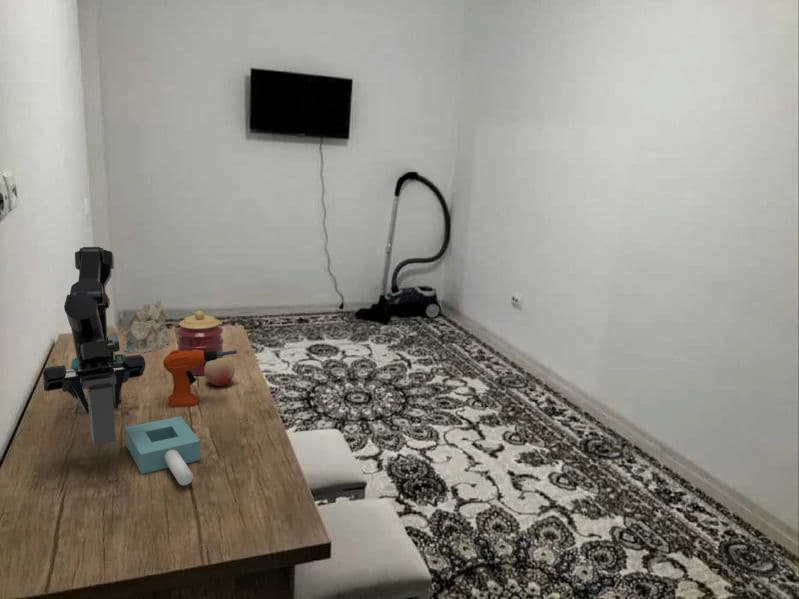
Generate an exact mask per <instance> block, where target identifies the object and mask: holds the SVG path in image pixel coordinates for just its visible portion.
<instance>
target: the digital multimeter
mask: <svg viewBox="0 0 799 599" xmlns="http://www.w3.org/2000/svg"><path fill="white" fill-rule="evenodd" d="M126 356H127V355H126V354H124V353H119V354H118V353H117V354H115V360H118V363H122V360H123V357H126ZM71 360H72V361H71V369H76V370H77V369H79V368H78V362H77V357H74V358H72V359H71Z"/></svg>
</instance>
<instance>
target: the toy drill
mask: <svg viewBox="0 0 799 599" xmlns="http://www.w3.org/2000/svg"><path fill="white" fill-rule="evenodd" d="M237 352H238V351H237V349H236V350H235V349H234V350H228V351H223V352H219V353H217V351H201V350H192V351H187V350H185V351H179V350H178V349H173V350H172V351H170V352H169V353H168V354H167V355H166V356H165V357H164V359H163V364H162V365H163V367H164V368H165V370H166V371H167V372H168V373H170V374H171V376H172V380H173V388H172V389H173V390H172V394H171V395H168V399H167V404H168V406H170V407H173V408H174V407H175V408H176V407H177V408H178V407H179V408H180V407H181V408H183V407H193V406H196V405H199V403H200V396H199V395H196V394H194V393H193V392H192V390H191V386H192V385H193V384H194V383H195V382H196V381H197V378H195V377H194V376H195V375H192V373H191V372H190V371H188V370H190V369H192V368H195V367H197V366H200V365H202V364H204V363H205V362H209V361H211V360H216V359H217V358H218V357H219V356H223V357H224V356H229V355H234V354H237Z"/></svg>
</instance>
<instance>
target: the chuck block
mask: <svg viewBox="0 0 799 599" xmlns="http://www.w3.org/2000/svg"><path fill="white" fill-rule="evenodd" d="M124 430H125V443H126V444H125V445H126V446H125V447H127V450H128V451H130V452H129V454H130V456H131V457H132V459H133V461H134V463H135V464H137V465H136V466H138V467H137V468H138V471H139V472H140V474H141V475H145V473H146V474H150V473H153V471H154V472H158V471H161V470H166V469H169V470H170V472H171V473H172V474H173V475H172V476H174V478H175V479H176V481H177V482H178V484H179V485H180V486H187V485H189V484H190V483H191V482H193V479H194V473H193V472H192V470H191V469H190V467H189V466H188V465H187V464H191V463H194V462H198V461H201V440H200V439H199V438H198V437H197V435H196V434H195V432H193V430H192V429H191V427H190V426H189V425H188V423H186V421H185V420H184V418H183V417H182V416H181V415H179V416H175V417H170V418H164V419H161V420H160V419H159V420H155V421H149V422H146V423H141V424H135V425H134V424H133V425H130V426H125V428H124Z"/></svg>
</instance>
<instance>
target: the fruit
mask: <svg viewBox="0 0 799 599" xmlns="http://www.w3.org/2000/svg"><path fill="white" fill-rule="evenodd" d="M203 376H204V377H205V379H206V381H207V382H209V383H210V384H212V385H213V386H216V387H223V386H226V385H228V384H229V383H230V382H231V381H232V380H233V378H234V376H235V366H234V363H233V362H232V360H231V359H230V358H229V357H223V358H217V359H216V360H211V361H209V362H207V363H206V365H205V367H204V375H203Z"/></svg>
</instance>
